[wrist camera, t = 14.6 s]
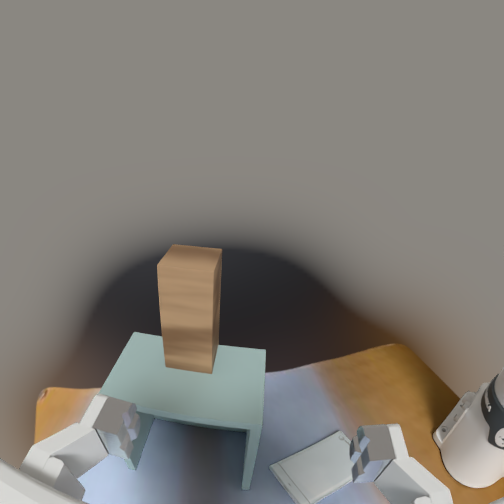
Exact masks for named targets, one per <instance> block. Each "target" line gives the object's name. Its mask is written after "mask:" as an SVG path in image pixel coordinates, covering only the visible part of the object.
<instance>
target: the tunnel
mask: <svg viewBox="0 0 504 504" xmlns="http://www.w3.org/2000/svg"><path fill="white" fill-rule="evenodd" d="M265 358H266V350H262V349H251V348H241V347H233V346H223V345H218V349H217V354H216V358H215V362H214V367H213V371H212V374H207V373H200V372H193V371H186V370H180V369H174V368H168V367H166V366H165V358H164V348H163V339H162V337H160V336H154V335H149V334H142V333H137V332H134V333H133V335H132V337H131V338H130V340H129V342H128V343H127V345H126V347H125V349H124V350H123V352H122V354H121V355H120V357H119V359H118V361H117V362H116V364H115V366H114V367H113V369H112V371H111V373H110V375H109V376H108V378H107V380H106V382H105V383H104V385H103V387H102V389H101V390H100V392H99V393H100V394H103V395H107V396H110V397H113V398H117V399H120V400H124V401H128V402H132V403H135V404H136V407H137V410H136V413H137V414H138V415H139V417H140V424H141V425H140V431H139V434H138V437H137V438H136V439H134V440H132V443H133V446H134V447H133V450H132V452H131V455H130V457H129V460H128V459H124V460H125V462H126V464H127V466H128V468H129V469H132V470H136V468H137V465H138V462H139V460H140V457H141V454H142V451H143V448H144V445H145V442H146V439H147V437H148V434H149V431H150V428H151V425H152V423H153V420H154V418H156V419H160V420H165V421H170V422H176V423H181V424H187V425H193V426H199V427H206V428H213V429H220V430H228V431H237V432H247V436H246V446H245V457H244V467H243V478H242V488H241V489H242V490H249V489H250V484H251V479H252V475H253V470H254V465H255V460H256V455H257V450H258V445H259V440H260V435H261V430H262V425H263V405H264V383H265Z"/></svg>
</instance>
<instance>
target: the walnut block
mask: <svg viewBox="0 0 504 504" xmlns="http://www.w3.org/2000/svg"><path fill="white" fill-rule="evenodd" d="M221 262H222V249H216V248H205V247H194V246H185V245H175V244H173V245H172V246H171V248H170V249H169V250H168V252H167V253H166V254H165V256H164V257H163V258H162V260H161V261H160V262H159V263H158V265H157V271H158V289H159V304H160V315H161V316H160V317H161V328H162V339H163V348H164V358H165V366H166V367H168V368H174V369H180V370H186V371H193V372H200V373H207V374H212V371H213V367H214V362H215V358H216V354H217V349H218V343H219V312H220V286H221Z"/></svg>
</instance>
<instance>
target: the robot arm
mask: <svg viewBox="0 0 504 504" xmlns="http://www.w3.org/2000/svg"><path fill="white" fill-rule="evenodd" d="M136 410H137V407H136V404H135V403H132V402H128V401H124V400H120V399H117V398H113V397H110V396H107V395H103V394H100V393H98V394H97V395H95V396H94V398H93V400H92V402H91V404H90V405H89V407H88V409H87V411H86V412H85V414H84V416H83V418H82V420H81V421H80V423H74V424H73V425H71V426H69V427H67V428H65V429H63V430H61V431H60V432H58V433H56V434H54V435H52V436H50V437H48V438H46V439H44V440H42V441H40V442H38V443H37V444H35V445H33V446H32V447H31V449H30V451H29V452H28V454H27V456H26V458H25V459H24V461H23V463H22V465H21V466H20V468H19V469H17V468H15V467H14V466H12V465H10V464H9V463H7V462H6V461H4V460H2V459H1V458H0V504H88V503H86V502H83V501H82V498H83V496H84V493H85V489H84V487H83V486H82V485H81V483H80V482H79V481H78V480H77V478H79V477H80V476H81V475H83V474H84V473H86V472H87V471H88V470H90V469H91V468H92V467H94V466H95V465H96V464H98V463H99V462H100V461H102V460H103V459H104V458H106V457H107V456H108V454H110V455H113V456H117V457H120V458H124V459H128V460H129V457H130V455H131V452H132V450H133V447H134V446H133V443H132V440H134V439H136V438H137V437H138V434H139V431H140V425H141V424H140V417H139V415H138V414H137V413H136ZM433 438H434V440H435V442H436V444H437V445H438V446H439V448H440V450H441V455H442V459H443V462H444V465H445V467H446V469H447V470H448V472H449V473H450V474H451V476H452V477H453V478H455V479H456V480H457V481H458V482H460V483H462V484H463V485H466V486H469V487H473V488H483V487H487V486H490V485H492V484H494V483H495V482H496V481H498V480H499V479H500V478H502V477H504V367H503V369H502V370H501V372H500V373H499V374H498V375H497V376H496V377H495V378H494V379H492V381H491V382H490V383H484V384H482V385H481V387H480V388H479V390H478V391H477V393H475V392H470V391H468V392H466V393H465V394H464V395H463V397H462V398H461V399H460V400H459V402H458V403H457V405H456V406H455V407H454V409H453V410H452V411H451V412H450V414H449V415H448V416H447V418H446V419H445V420H444V421H443V422H442V424H441V425H440V426H439V427H438V429H437V430H436V431H435V432H434V434H433ZM349 455H350V460H351V461H352V462H353V463H354V466H353V467H352V469H351V471H352V478H353V483H363V482H374V484H375V485H376V486H377V487H378V489H379V490H380V491H381V492H382V494H383V495H384V496H385V497H386V498H387V500H388V501H389V502H390V503H391V504H453V501H452V497H451V494H450V490H449V489H448V488H447V487H446V486H445V485H444V484H442V483H441V482H440V481H439V480H438V479H437V478H435V477H434V476H433V475H432V474H431V473H430V472H429V471H427V470H426V469H425V468H424V467H423V466H422V465H421V464H420V463H418V462H417V461H416V460H415V459H414V458H413V457H409V455H408V452H407V448H406V445H405V441H404V438H403V434H402V431H401V428H400V425H399V424H386V425H385V424H381V425H367V426H360V427H359V428H358V430H357V436H355V437H353V439H352V441H351V443H350V448H349ZM489 504H504V497H503V498H500V499H498V500H496V501H494V502H491V503H489Z"/></svg>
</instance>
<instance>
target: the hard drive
mask: <svg viewBox="0 0 504 504" xmlns="http://www.w3.org/2000/svg"><path fill="white" fill-rule="evenodd" d="M350 443H351V441H350V440H349V439H348V438H347V437H346V436H345V435H344V434H343V433H342V432H341V431H338V432H336V433H335V434H333V435H331V436H329V437H327V438H325V439H324V440H322V441H320V442H318V443H316V444H314V445H312V446H310V447H308V448H306V449H304V450H302V451H300V452H298V453H296V454H294V455H292V456H289V457H287V458H285V459H283V460H281V461H279V462H277V463H274V464H272V465H270V466H269V469H270V470H271V472H272V473H273V474H274V476H275V477H276V478H277V480H278V481H279V482H280V484H281V485H282V486H283V488H284V489H285V490H286V492H287V493H288V494H289V495H290V497H291V498H292V499H293V500H294V502H295V503H296V504H315V503H317V502H319V501H320V500H322V499H324V498H326V497H327V496H329V495H331V494H332V493H334V492H336V491H337V490H339V489H340V488H342V487H344V486H345V485H347V484H348V483H350V482H351V481H353V478H352V471H351V469H352V467H353V466H354V463H353V462H352V461H351V460H350V455H349V448H350Z"/></svg>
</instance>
